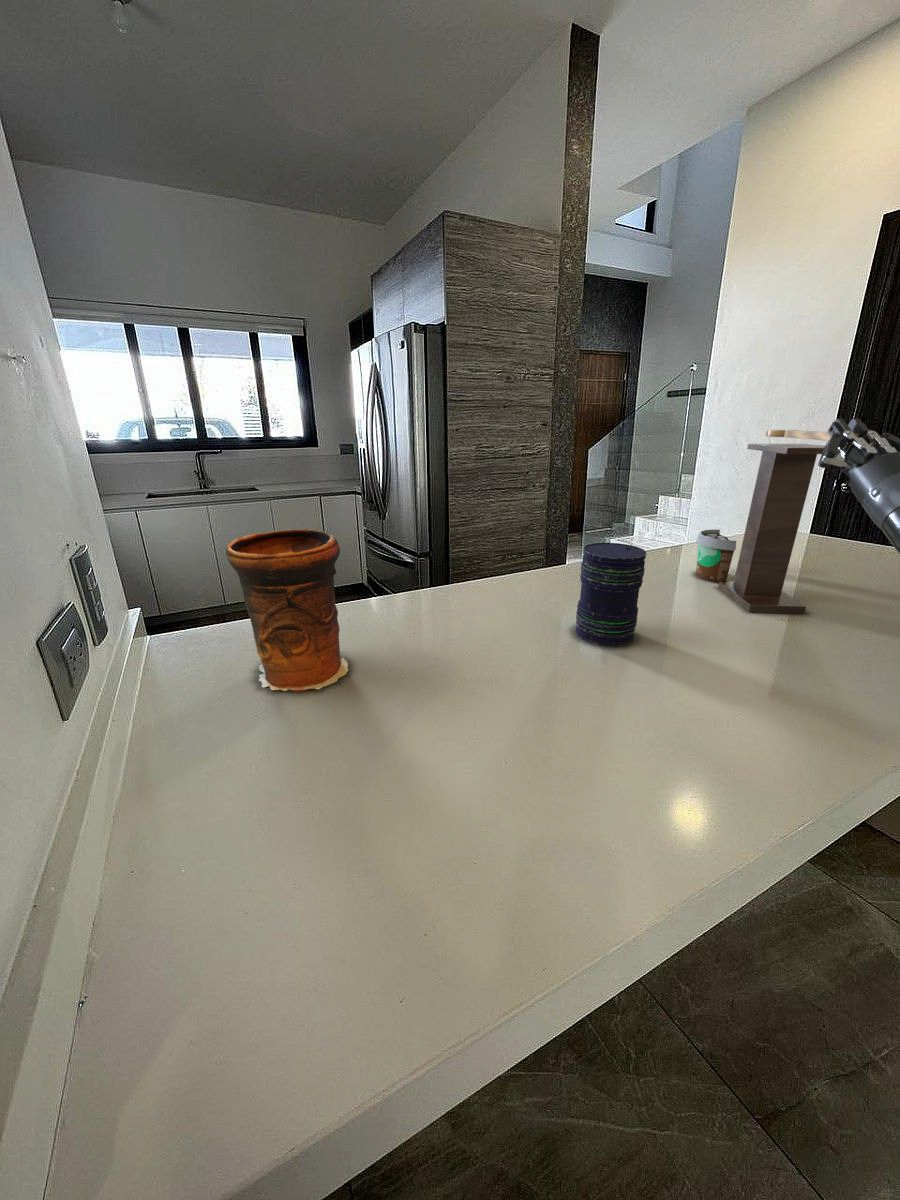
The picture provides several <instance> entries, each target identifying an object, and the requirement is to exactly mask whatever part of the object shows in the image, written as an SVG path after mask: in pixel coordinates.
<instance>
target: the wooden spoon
mask: <svg viewBox="0 0 900 1200" xmlns="http://www.w3.org/2000/svg"><path fill="white" fill-rule="evenodd" d="M854 434H855V436H856V437H857V438H858V436H859V434H856V433H854ZM765 437H768V438H790V439H800V440H801V439H802V440H815V441H827V442H828V441H829V440H830V438H831V435H830V434H829V433H828V431H819V430H818V431H817V430H816V431H815V430H799V429H798V430H797V429H766V433H765Z"/></svg>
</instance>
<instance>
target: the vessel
mask: <svg viewBox="0 0 900 1200" xmlns="http://www.w3.org/2000/svg"><path fill="white" fill-rule="evenodd" d="M225 554H226V558H227V561H228V563H229V565H230V566H231V568H233V570H234V571H235V572H236V574H237V576H238V579H239V580H238V581H239V583H240V584H239V585H240V587H241V590H242V595H243V601H244V605H245V608H246V611H247V614H248V617H249V620H250V625H251V628H252V632H253V636H254V637H253V638H254V644H255V647H256V653H257V654H258V657H259V658H260V661H261V663H260V664H259V666H258V669H259V671H260V672H261V674H259V675H258V676H259V678H258V681H259V682H261V688H267V687H269V689H270V690H271V691H280V690H281V691H283V692H286V691H288V690H291V691H297V692H299V691H307V690H320V689H321V690H322V688H323V687H327V686H330V685H332V684H334V683H337V682H338V680H339V678H342V677H344V676H345V675H347V673H348V671H349V663H348V661H347V659H345V658H344V656H341V650H340V649H341V647H340V624H339V621H338V617H339V610H338V608H337V605H336V595H335V594H336V591H335V589H336V588H335V575H336V574H337V570H336V562H337V561H338V559H339V558H340V557H339V556H340V555H341V549H340V545H339V542H338V540H337V538H336V537H335V536H334V535H333V534H330V533H328V532H325V531H323V530H320V529H311V528H310V529H309V528H299V529H281V530H280V529H279V530H275V531H274V530H273V531H269V532H260V533H253V534H248V535H245V536H239V537H237V538H235V539H233V540H232V541H231V542H230V543H229V544H228V545H226V548H225Z"/></svg>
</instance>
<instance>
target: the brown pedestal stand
mask: <svg viewBox="0 0 900 1200" xmlns="http://www.w3.org/2000/svg"><path fill="white" fill-rule="evenodd" d="M825 446H826V445H821V444H811V443H810V444H809V443H747V447H746V449H747V450H752V451H760V452H762V453H761V457H760V460H759V466H758V471H757V475H756V480H755V485H754V489H753V493H752V497H751V502H750V507H749V512H748V515H747V520H746V524H745V530H744V535H743V538H742V544H741V548H740V552H739V557H738V561H737V566H736V571H735V575H734V578H733V581H726V582H719V583H718V588H717V589H719V590H720V591H721V592H723V593H724V594H725V595H726V596H728V597H729V598H730V599H731V600H732V601H734V602H735V603H737V605H739V606H740V607H742V608H743V609H744V610H746V611H747V612H748V613H761V614H762V613H763V614H797V615H805V614H806V609H807V606H806V605H804V604H803V603H801V602H799V601H798V600H797V599H795V598H793V597H791V596H790V595H788V594H787V593H786V592H783V587H784V584H785V580H786V576H787V573H788V569H789V565H790V560H791V557H792V554H793V549H794V545H795V542H796V538H797V534H798V530H799V527H800V522H801V520H802V519H801V518H802V516H803V515H802V514H803V512H804V511H803V510H804V506H805V502H806V501H807V500H806V499H807V495H808V491H809V488H810V484H811V479H812V475H813V473H814V468H815V466H816V465H815V464H816V461H817V457H818V455H822V452H823V450H824V447H825Z"/></svg>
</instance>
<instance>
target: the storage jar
mask: <svg viewBox="0 0 900 1200" xmlns="http://www.w3.org/2000/svg"><path fill="white" fill-rule="evenodd" d="M582 554H583V555H582V559H581V560H582V561H581V562H580V563H581V564H580V575H579V577H580V579H579V581H580V582H581V583H580V584H581V586H580V594H579V600H578V601H577V606H576V608H577V609H576V613H575V619H576V621H575V623H576V626H575V630H574V631H575V635H576V636H577V638H579V640H582V641H584V642H586V643H589V644H591V645H595V646H600V647H611V648H614V647H615V648H616V647H624V646H627V645H630V644H631V643H632V642H633V641H634V638H635V633H634V632H635V631H636V626H637V623H638V613H639V607H638V601H639V595H640V589H641V587H642V585H643V582H644V580H643V578H644V576H645V565H646V557H647V551H646V550H645V549H643V548H641V547H639V546H636V545H632V544H626V543H619V542H596V543H595V542H594V543H589V544H586V545H585V546H584V547H583V551H582Z"/></svg>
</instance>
